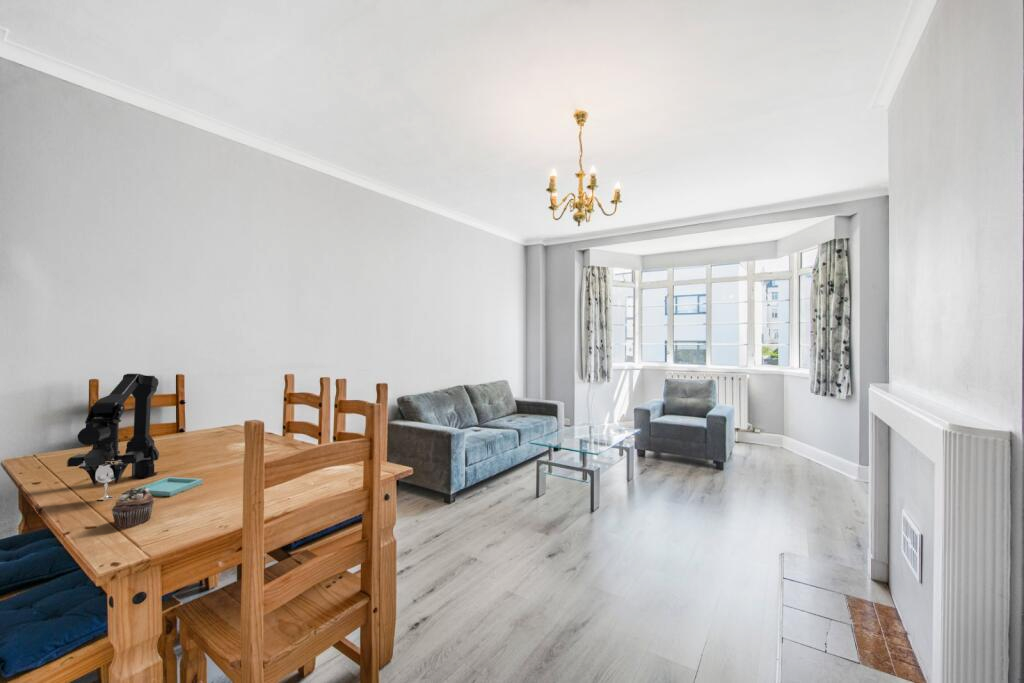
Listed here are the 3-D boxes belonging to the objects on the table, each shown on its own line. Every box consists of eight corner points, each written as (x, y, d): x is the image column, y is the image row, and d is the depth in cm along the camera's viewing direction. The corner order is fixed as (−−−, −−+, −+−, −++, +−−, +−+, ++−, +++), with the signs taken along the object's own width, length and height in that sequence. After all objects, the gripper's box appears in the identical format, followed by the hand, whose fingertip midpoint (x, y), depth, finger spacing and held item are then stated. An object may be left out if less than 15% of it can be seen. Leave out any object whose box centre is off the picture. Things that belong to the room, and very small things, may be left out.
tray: (133, 494, 153) (133, 489, 153) (168, 481, 167) (168, 477, 167) (170, 496, 151) (170, 491, 151) (202, 483, 165) (202, 479, 165)
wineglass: (91, 503, 144) (91, 466, 144) (97, 497, 150) (98, 462, 150) (113, 500, 147) (114, 464, 147) (119, 494, 152) (120, 460, 152)
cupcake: (155, 513, 138) (156, 481, 137) (150, 524, 129) (151, 491, 129) (115, 519, 132) (115, 486, 132) (107, 531, 124) (108, 496, 124)
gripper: (55, 445, 138) (54, 494, 138) (128, 442, 144) (127, 489, 144) (78, 437, 148) (77, 483, 148) (144, 434, 154) (143, 479, 154)
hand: (106, 484), depth 148 cm, fingers closed on wineglass, 5 cm apart
